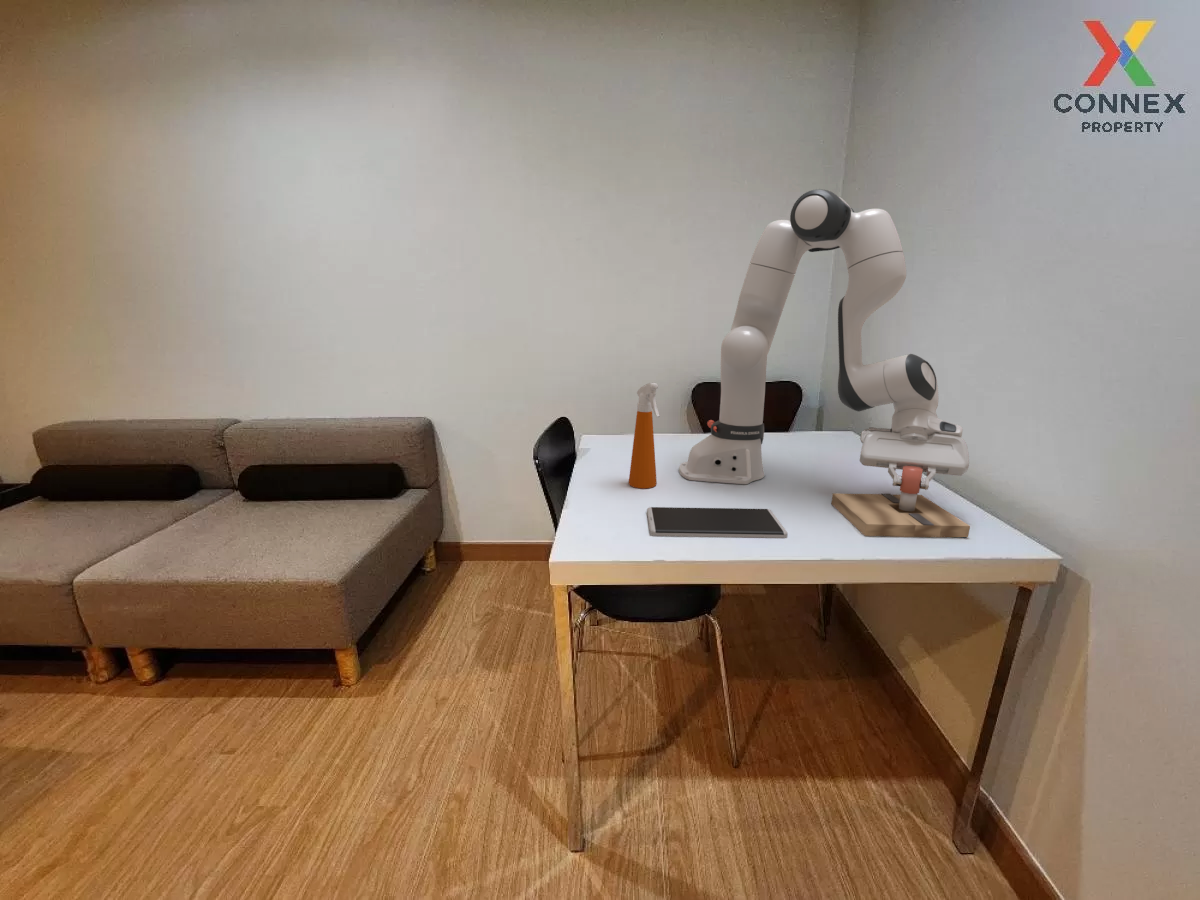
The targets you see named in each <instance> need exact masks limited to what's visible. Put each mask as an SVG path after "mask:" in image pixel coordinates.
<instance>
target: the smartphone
mask: <svg viewBox="0 0 1200 900" xmlns="http://www.w3.org/2000/svg"><path fill="white" fill-rule="evenodd" d="M646 516H647V521H648V528H649V533H650V536H652V537H683V538H684V537H685V538H691V537H692V538H695V537H696V538H697V537H698V538H747V539H748V538H752V539H753V538H754V539H755V538H756V539H757V538H758V539H760V538H761V539H787V538H788V534H789V533H788V531H787V530H786V528H785V527H784V526H783V524H782V523H781V522H780V521H779V518H777V517H776V515H775V514H774V512H773V511H772V509H770V508H741V507H740V508H735V507H734V508H730V507H728V508H725V507H723V508H722V507H672V506H671V507H665V506H662V507H661V506H660V507H656V506H655V507H654V506H649V507H648V508H647V509H646Z"/></svg>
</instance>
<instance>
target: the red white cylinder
mask: <svg viewBox="0 0 1200 900" xmlns="http://www.w3.org/2000/svg"><path fill="white" fill-rule="evenodd" d="M922 471H923V469H922V468H920V467H916V466H903V470H902V471H901V476H902V479H901V480H902V482H901V486H899V491H900V494H899V495H900V502H899V509H901V510H904V511H915V505H916V499H917V495H919V494H920V490H921V489H920V484H921V478H923V472H922Z"/></svg>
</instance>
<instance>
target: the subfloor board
mask: <svg viewBox="0 0 1200 900" xmlns="http://www.w3.org/2000/svg"><path fill="white" fill-rule="evenodd" d="M831 495H832V496H831V501H830V502H831V505H832V506H833V507H834V509H836V510H837V511H839V513H840V514H841V515H842V516H843V517H844V518H846V519H847V520H848V521H849V522H850V523H851V524H852V525H853V526H854V527H855V528H856V529H857V530H858V531H860V533H861V534H862V535H863V536H864V537H895V538H897V537H901V538H903V537H905V538H947V537H968V538H969V534H970V529H971V526H970V524H968V523H966V522H964V521H963V520H961V519H960V518H959V517H956V516H955V515H954V514H952V513H950V512H949V511H947V510H946V509H945V508H943V507H941V506H939V505H938V504H936V503H935V502H933V501H932V500H930V499H929V498H927V497H926V496H924V495H922V494H917V499H916V505H915V511H904V510H901V509H899V502H900V495H901V494H893V493H892V494H891V493H887V492H885V493H884V492H883V493H881V494H880V493H878V494H877V493H872V494H871V493H837V492H836V493H832V494H831Z"/></svg>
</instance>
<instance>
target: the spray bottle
mask: <svg viewBox="0 0 1200 900" xmlns="http://www.w3.org/2000/svg"><path fill="white" fill-rule="evenodd" d="M658 387H659V385H658V383H656V382H649V383H646V384H645V385H643V386H640V388H639V389H638V390H637V391H636V394H637V396H638V402H637V411H636V418H635V424H634V425H635V427H634V434H633V441H632V451H631V460H630V467H629V477H628V485H629V486H630V487H631V488H632V487H633V488H635V489H643V490H644V489H645V490H646V489H652V488H655V487H656V485H657V484H658V483H657V482H658V481H657V467H656V466H657V465H656V455H655V454H656V452H655V450H656V449H655V436H654V435H655V434H654V420H653V413H654V416H655V417H656V418H660V414H659V409H658V406H657V401H656V400H657V399H656V394H657V393H656V392H657V389H659V388H658Z"/></svg>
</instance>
